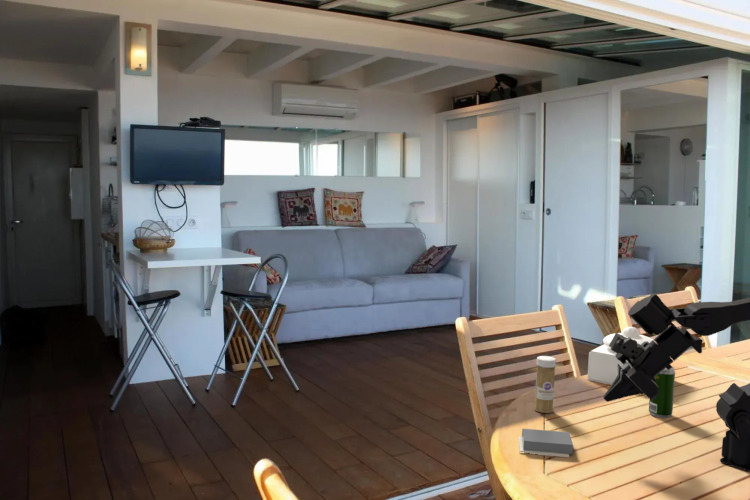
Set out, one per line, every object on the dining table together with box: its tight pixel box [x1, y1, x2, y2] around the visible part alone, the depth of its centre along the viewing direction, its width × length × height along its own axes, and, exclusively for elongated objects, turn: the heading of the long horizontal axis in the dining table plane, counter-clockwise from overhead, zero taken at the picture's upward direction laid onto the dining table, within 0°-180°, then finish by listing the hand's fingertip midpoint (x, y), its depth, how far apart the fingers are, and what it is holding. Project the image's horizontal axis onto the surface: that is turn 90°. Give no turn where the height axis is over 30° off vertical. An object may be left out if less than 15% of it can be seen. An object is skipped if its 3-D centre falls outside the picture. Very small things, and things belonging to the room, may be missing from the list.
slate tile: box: [521, 428, 574, 455], centre depth 145 cm, size 2×7×10 cm
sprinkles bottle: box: [534, 355, 557, 414], centre depth 167 cm, size 5×5×14 cm
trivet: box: [517, 436, 570, 458], centre depth 145 cm, size 10×8×1 cm
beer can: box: [648, 366, 676, 419], centre depth 166 cm, size 5×5×12 cm
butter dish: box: [587, 326, 672, 386], centre depth 194 cm, size 18×18×16 cm
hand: (605, 399), depth 142 cm, fingers closed
